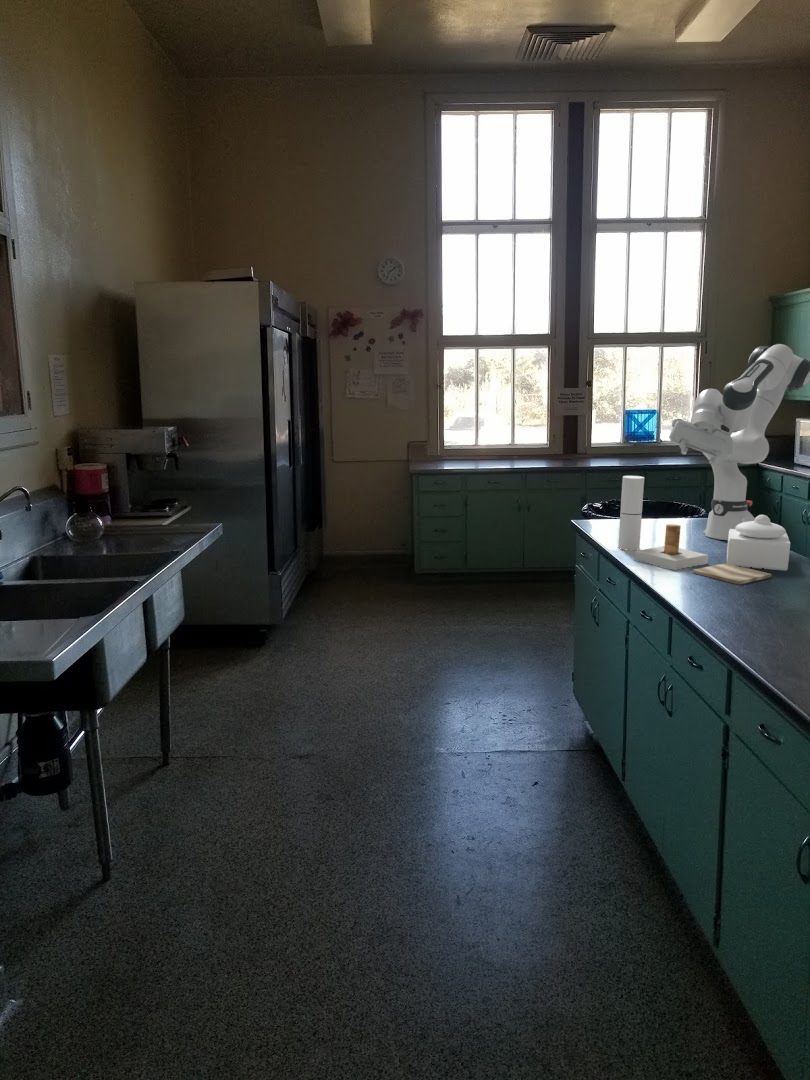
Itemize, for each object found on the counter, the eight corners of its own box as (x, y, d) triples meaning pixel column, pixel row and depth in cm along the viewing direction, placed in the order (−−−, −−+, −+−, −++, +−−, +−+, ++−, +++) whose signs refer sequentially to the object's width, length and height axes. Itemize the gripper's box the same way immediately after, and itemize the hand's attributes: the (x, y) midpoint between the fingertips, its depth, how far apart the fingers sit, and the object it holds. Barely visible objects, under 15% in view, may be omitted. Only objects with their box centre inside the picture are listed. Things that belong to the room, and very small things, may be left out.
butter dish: (726, 566, 253) (731, 517, 249) (726, 554, 269) (730, 508, 266) (787, 571, 246) (792, 521, 243) (783, 558, 263) (788, 511, 259)
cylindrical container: (628, 551, 271) (633, 479, 266) (613, 547, 277) (618, 476, 272) (643, 549, 274) (648, 477, 269) (629, 545, 281) (633, 475, 275)
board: (724, 566, 251) (725, 563, 251) (771, 577, 238) (771, 574, 238) (692, 572, 243) (692, 569, 243) (738, 584, 230) (739, 581, 229)
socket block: (666, 554, 267) (667, 545, 267) (707, 563, 254) (708, 554, 254) (634, 560, 259) (635, 551, 258) (674, 570, 246) (675, 560, 245)
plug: (669, 559, 260) (672, 523, 257) (680, 562, 256) (683, 526, 253) (660, 561, 257) (663, 525, 255) (671, 564, 254) (674, 527, 251)
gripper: (677, 410, 261) (671, 440, 253) (737, 432, 259) (732, 462, 252) (669, 423, 266) (663, 452, 259) (728, 444, 265) (723, 474, 257)
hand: (698, 457), depth 255 cm, fingers open, 8 cm apart
